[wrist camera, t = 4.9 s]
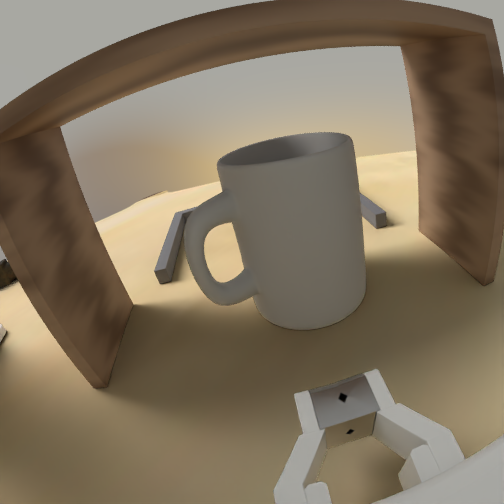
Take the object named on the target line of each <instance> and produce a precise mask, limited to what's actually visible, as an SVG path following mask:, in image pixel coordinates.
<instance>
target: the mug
mask: <svg viewBox="0 0 504 504" xmlns="http://www.w3.org/2000/svg"><path fill="white" fill-rule="evenodd" d="M217 170H218V174H219V178H220V182H221V186H222V192H221V193H220V194H218V195H216V196H214V197H212V198H211V199H209V200H207V201H205V202H204V203H202V204H201V205H199V206H198V207H197V208H196V209H195V210H194V211H193V212H192V213H191V214H190V216H189V217H188V219H187V221H186V224H185V228H184V247H185V252H186V257H187V260H188V264H189V267H190V270H191V272H192V274H193V276H194V278H195V280H196V282H197V284H198V285H199V287H200V289H201V290H202V292H203V293H204V294H205V295H206V296H207V298H209V299H210V300H211V301H213V302H214V303H215V304H218V305H221V306H228V305H233V304H237V303H239V302H242V301H244V300H246V299H248V298H250V297H252V296H253V299H254V302H255V305H256V307H257V309H258V311H259V312H260V314H261V315H262V316H263V317H264V318H265V319H267V320H268V321H269V322H271V323H273V324H275V325H277V326H280V327H283V328H287V329H294V330H312V329H318V328H323V327H326V326H330V325H332V324H335V323H337V322H339V321H341V320H343V319H344V318H346V317H347V316H349V315H350V314H351V313H352V312H354V311H355V310H356V308H357V307H358V306H359V305H360V303H361V302H362V300H363V298H364V295H365V291H366V268H365V254H364V239H363V225H362V212H361V202H360V192H359V183H358V174H357V166H356V159H355V152H354V145H353V141H352V139H351V138H350V137H349V136H348V135H345V134H341V133H332V132H331V133H330V132H318V133H305V134H297V135H290V136H284V137H279V138H274V139H269V140H266V141H262V142H258V143H255V144H251V145H248V146H245V147H242V148H239V149H237V150H235V151H232V152H230V153H228V154H226V155H225V156H223V157H222V158H220V159H219V161H218V163H217ZM231 222H232V224H233V228H234V231H235V234H236V238H237V242H238V245H239V249H240V253H241V257H242V262H243V266H244V270H243V271H242V272H241V273H240V274H239V275H238V276H237V277H235V278H234V279H232V280H230V281H228V282H225V283H220V282H217V281H216V280H215V279H214V278H213V277H212V275H211V273H210V271H209V269H208V267H207V263H206V260H205V255H204V241H205V238H206V236H207V234H208V233H209V231H210V230H211V229H213V228H214V227H216V226H218V225H221V224H224V223H231Z"/></svg>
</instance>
